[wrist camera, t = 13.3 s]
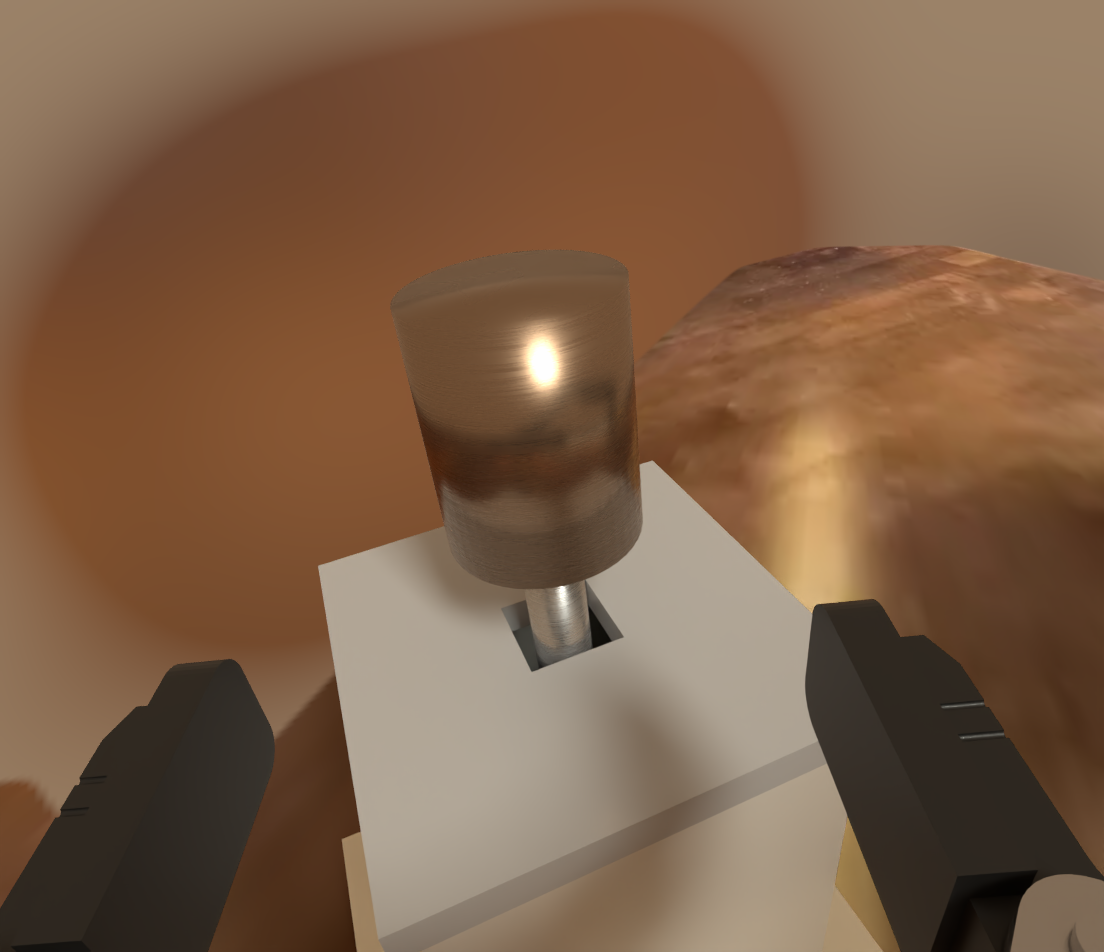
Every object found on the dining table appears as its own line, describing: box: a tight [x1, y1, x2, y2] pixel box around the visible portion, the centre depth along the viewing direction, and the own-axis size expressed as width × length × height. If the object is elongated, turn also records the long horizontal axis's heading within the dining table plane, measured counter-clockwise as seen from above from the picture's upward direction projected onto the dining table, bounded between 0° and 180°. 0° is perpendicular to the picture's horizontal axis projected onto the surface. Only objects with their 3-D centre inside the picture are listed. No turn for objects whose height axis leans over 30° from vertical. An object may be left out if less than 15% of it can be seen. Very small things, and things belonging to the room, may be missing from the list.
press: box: [318, 461, 883, 952], centre depth 25 cm, size 20×20×20 cm
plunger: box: [391, 250, 643, 669], centre depth 21 cm, size 9×9×24 cm
